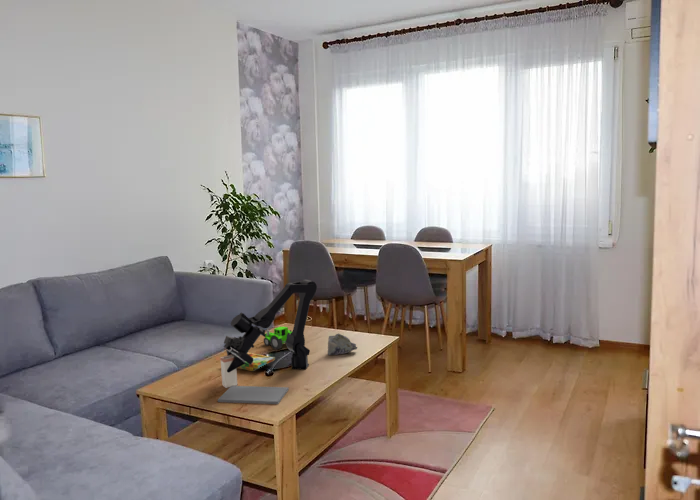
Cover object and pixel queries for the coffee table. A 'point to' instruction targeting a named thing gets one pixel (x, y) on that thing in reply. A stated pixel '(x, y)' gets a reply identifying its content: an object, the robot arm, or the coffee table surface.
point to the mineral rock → (340, 345)
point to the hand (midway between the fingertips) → (225, 370)
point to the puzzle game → (257, 362)
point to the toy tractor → (276, 337)
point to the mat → (254, 394)
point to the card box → (230, 377)
